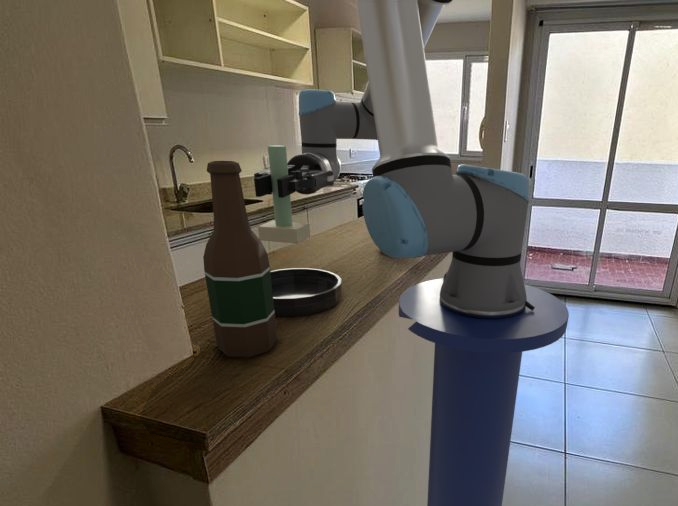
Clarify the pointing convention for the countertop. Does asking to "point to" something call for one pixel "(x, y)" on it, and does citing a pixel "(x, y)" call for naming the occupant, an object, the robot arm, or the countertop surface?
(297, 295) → the black shallow round dish
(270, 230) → the green peg on base
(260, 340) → the beer bottle
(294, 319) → the countertop surface
